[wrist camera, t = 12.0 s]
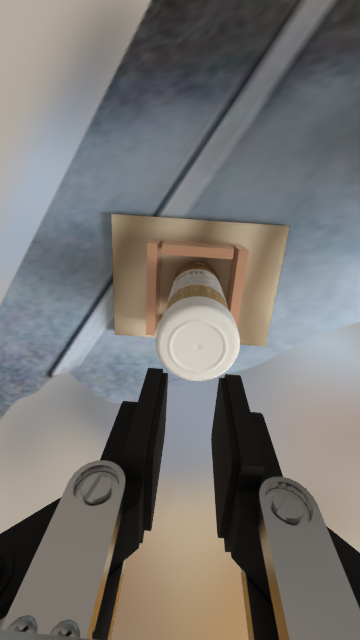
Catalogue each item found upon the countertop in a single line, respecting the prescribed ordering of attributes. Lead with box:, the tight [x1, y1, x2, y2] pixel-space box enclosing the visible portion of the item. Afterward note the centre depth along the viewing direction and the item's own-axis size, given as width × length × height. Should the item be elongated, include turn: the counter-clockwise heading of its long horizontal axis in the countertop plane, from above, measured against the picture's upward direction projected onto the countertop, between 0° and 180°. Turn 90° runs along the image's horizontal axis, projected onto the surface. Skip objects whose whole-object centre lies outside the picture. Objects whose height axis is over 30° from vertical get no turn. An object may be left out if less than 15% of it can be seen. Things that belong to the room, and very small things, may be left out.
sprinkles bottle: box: [156, 262, 240, 381], centre depth 21 cm, size 5×5×14 cm
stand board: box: [111, 214, 289, 346], centre depth 28 cm, size 16×12×1 cm
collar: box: [146, 239, 249, 336], centre depth 25 cm, size 8×8×4 cm
